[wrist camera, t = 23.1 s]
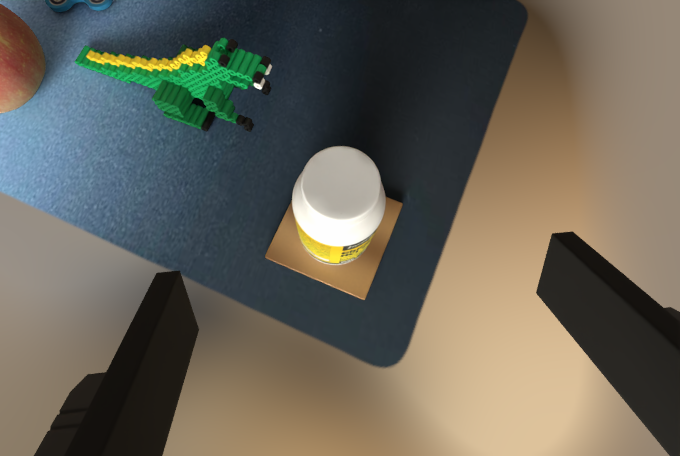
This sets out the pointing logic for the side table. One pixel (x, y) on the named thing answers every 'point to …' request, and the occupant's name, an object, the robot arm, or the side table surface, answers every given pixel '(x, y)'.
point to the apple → (18, 61)
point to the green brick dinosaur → (189, 79)
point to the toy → (66, 0)
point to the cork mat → (342, 277)
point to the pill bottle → (338, 204)
